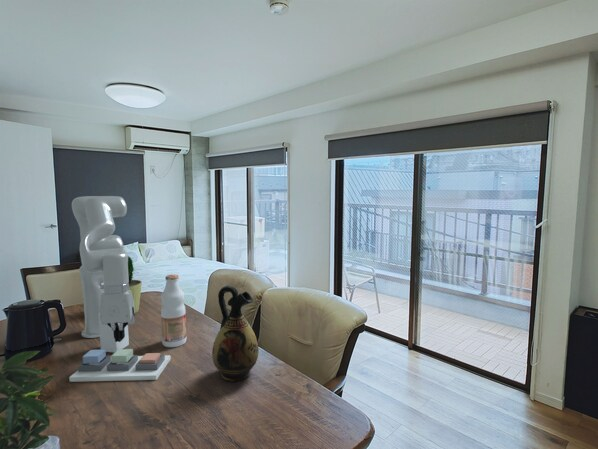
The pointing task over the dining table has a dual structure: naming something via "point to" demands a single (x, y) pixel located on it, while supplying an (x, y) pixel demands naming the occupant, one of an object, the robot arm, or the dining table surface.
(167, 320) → the fruit juice
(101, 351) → the slate-blue button
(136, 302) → the potted cactus
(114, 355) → the sage-green button
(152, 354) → the terracotta button
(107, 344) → the milk carton
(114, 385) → the dining table surface
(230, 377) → the ceramic jug
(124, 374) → the button panel
